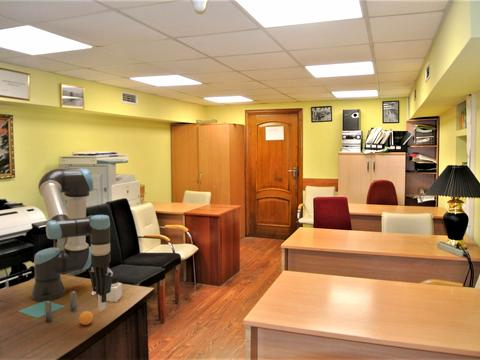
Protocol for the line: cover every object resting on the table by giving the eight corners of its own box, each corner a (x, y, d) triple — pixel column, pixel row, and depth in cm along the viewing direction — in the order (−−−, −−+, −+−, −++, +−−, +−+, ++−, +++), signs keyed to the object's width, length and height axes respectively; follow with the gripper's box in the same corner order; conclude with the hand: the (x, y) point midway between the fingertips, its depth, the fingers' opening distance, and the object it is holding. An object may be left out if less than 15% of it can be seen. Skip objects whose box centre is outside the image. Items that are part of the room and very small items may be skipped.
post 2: (69, 311, 178) (68, 292, 177) (74, 308, 180) (73, 290, 180) (73, 312, 177) (72, 293, 176) (77, 310, 179) (77, 291, 178)
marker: (94, 296, 196) (94, 292, 196) (90, 297, 196) (90, 292, 195) (104, 284, 214) (104, 280, 214) (100, 284, 214) (100, 280, 213)
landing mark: (17, 311, 177) (17, 310, 177) (45, 300, 189) (45, 300, 189) (37, 318, 170) (37, 317, 170) (64, 306, 183) (64, 306, 183)
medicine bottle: (122, 296, 196) (121, 273, 195) (116, 302, 189) (115, 278, 188) (108, 295, 197) (108, 272, 196) (102, 301, 190) (101, 277, 188)
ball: (76, 325, 165) (76, 312, 164) (87, 320, 169) (86, 308, 169) (85, 328, 162) (85, 315, 161) (95, 323, 167) (95, 310, 166)
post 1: (44, 321, 167) (43, 301, 166) (49, 319, 169) (48, 299, 169) (48, 323, 166) (47, 302, 165) (53, 320, 168) (52, 300, 167)
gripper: (119, 253, 158) (120, 309, 160) (96, 249, 165) (98, 303, 166) (104, 257, 152) (106, 315, 154) (82, 253, 158) (83, 309, 160)
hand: (101, 309), depth 160 cm, fingers closed
